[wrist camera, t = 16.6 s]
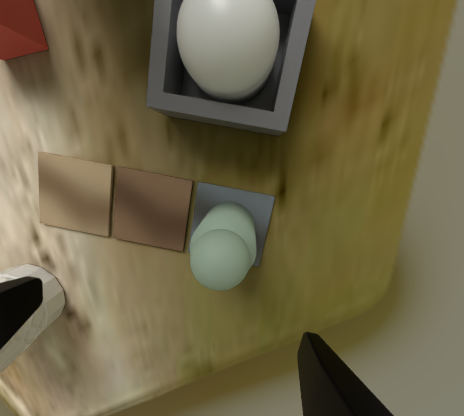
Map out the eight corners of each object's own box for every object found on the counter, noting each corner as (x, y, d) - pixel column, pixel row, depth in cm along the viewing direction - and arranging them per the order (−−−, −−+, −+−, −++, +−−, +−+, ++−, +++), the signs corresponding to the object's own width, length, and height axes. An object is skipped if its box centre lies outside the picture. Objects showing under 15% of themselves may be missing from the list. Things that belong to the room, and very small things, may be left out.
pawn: (208, 197, 19) (180, 227, 12) (259, 206, 19) (266, 243, 11) (200, 244, 21) (170, 301, 13) (249, 254, 20) (249, 317, 13)
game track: (41, 151, 20) (38, 151, 20) (274, 195, 19) (275, 196, 19) (42, 222, 22) (40, 223, 21) (258, 265, 21) (258, 266, 21)
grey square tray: (181, -18, 16) (160, -71, 12) (307, 3, 16) (325, -45, 12) (167, 116, 18) (146, 106, 15) (278, 136, 18) (286, 131, 14)
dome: (197, 4, 16) (167, -80, 10) (282, 19, 16) (301, -59, 10) (186, 97, 17) (154, 69, 12) (264, 111, 17) (271, 90, 11)
